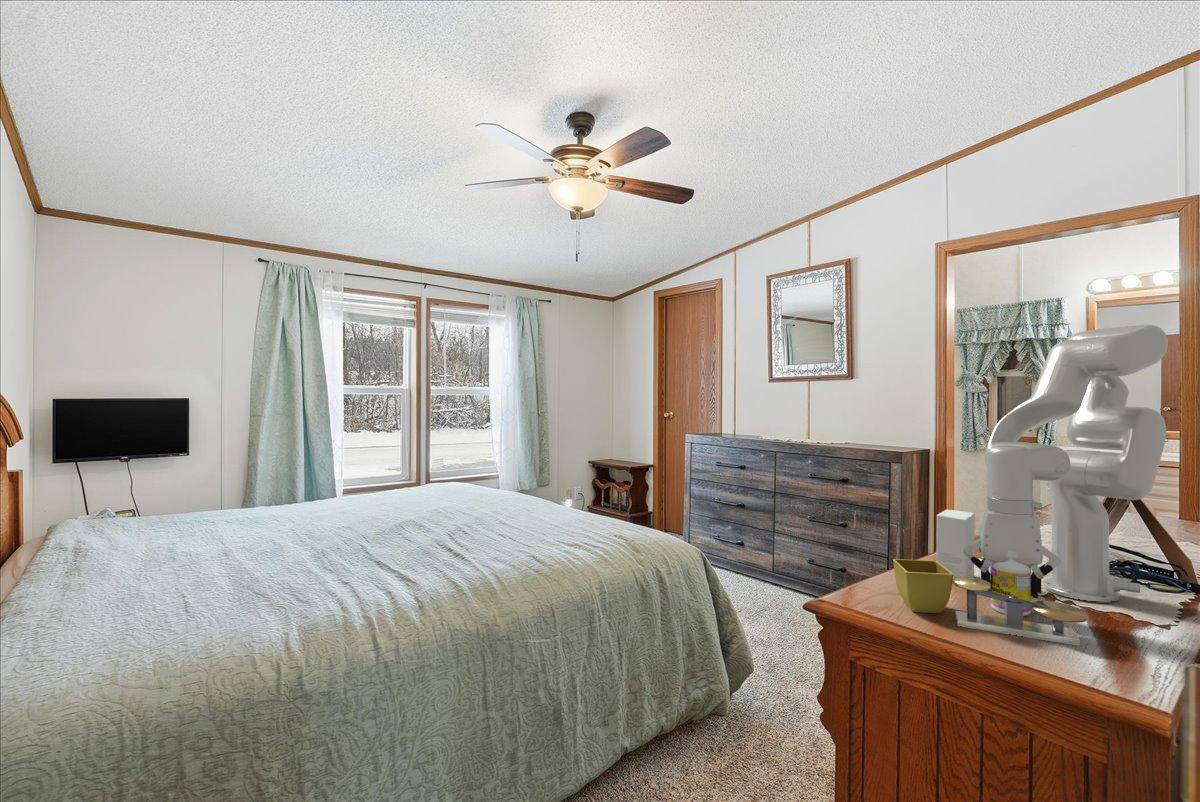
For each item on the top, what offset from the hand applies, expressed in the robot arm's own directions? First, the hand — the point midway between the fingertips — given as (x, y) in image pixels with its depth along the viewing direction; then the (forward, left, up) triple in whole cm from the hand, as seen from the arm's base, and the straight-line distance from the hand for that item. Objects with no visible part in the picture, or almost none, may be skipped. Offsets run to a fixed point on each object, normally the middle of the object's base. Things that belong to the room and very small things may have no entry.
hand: (1010, 592), depth 111 cm
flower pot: (+16, +7, -4) cm, 18 cm away
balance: (+1, +11, -4) cm, 12 cm away
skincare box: (+8, -19, -4) cm, 21 cm away
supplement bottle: (0, 0, -4) cm, 4 cm away
